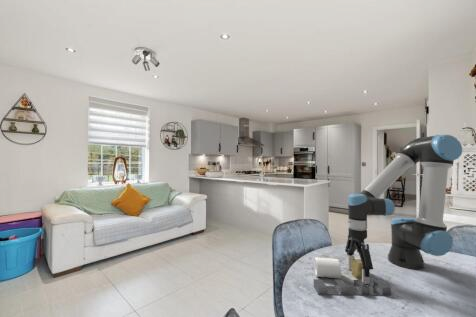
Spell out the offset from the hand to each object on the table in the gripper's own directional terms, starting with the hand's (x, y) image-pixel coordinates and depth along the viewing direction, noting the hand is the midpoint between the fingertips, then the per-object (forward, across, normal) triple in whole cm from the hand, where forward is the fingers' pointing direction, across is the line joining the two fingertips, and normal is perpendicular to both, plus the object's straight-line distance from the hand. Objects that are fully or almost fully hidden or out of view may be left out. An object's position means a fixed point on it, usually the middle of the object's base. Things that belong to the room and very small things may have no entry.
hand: (357, 276), depth 103 cm
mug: (+1, -2, -14) cm, 14 cm away
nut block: (0, 0, 0) cm, 0 cm away
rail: (0, +12, -9) cm, 15 cm away
